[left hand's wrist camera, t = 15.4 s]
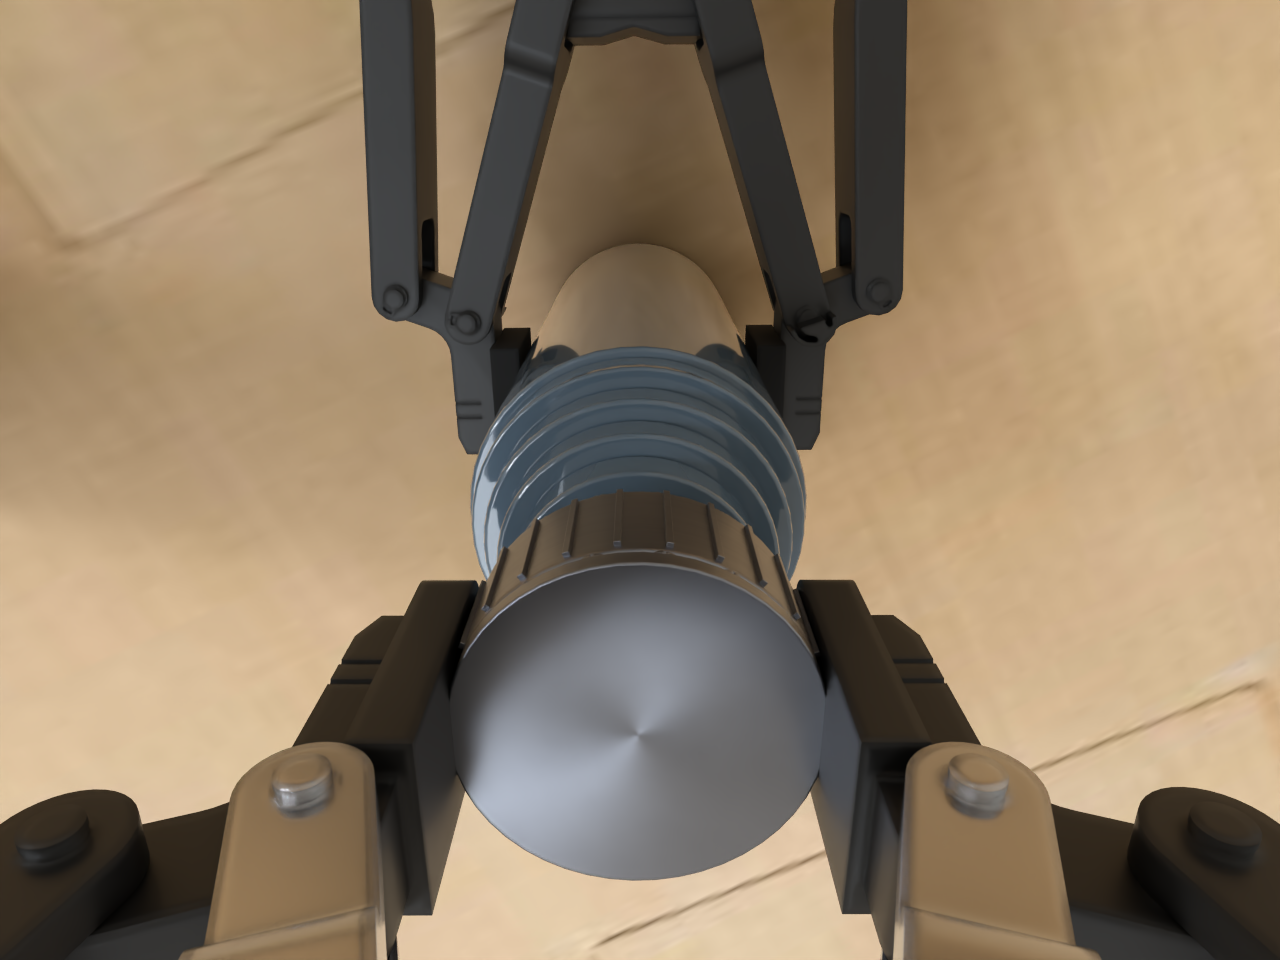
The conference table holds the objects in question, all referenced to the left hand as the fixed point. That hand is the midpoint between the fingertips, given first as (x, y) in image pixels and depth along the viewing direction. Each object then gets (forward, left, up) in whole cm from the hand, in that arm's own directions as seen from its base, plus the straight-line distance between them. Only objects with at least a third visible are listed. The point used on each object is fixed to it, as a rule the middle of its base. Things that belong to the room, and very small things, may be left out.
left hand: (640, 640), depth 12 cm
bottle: (0, 0, -20) cm, 20 cm away
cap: (0, 0, +2) cm, 2 cm away
